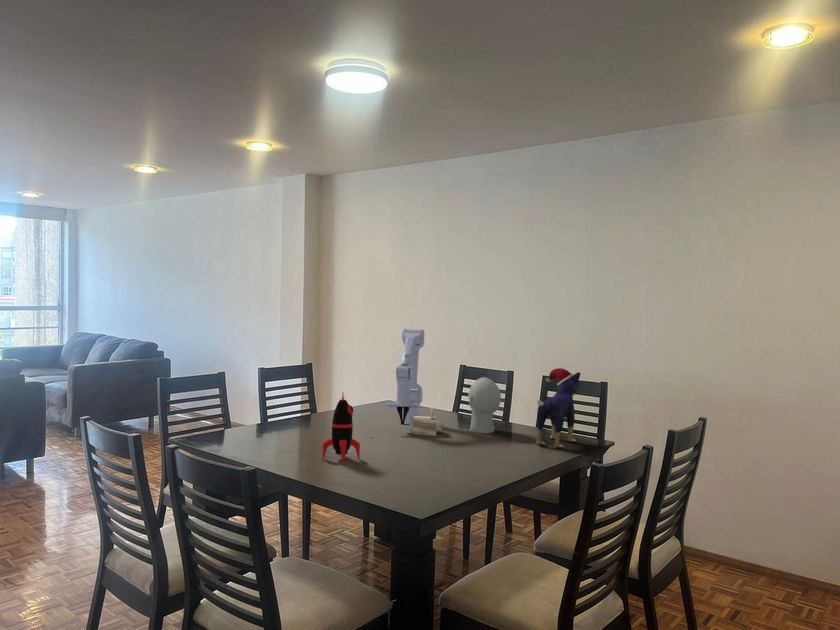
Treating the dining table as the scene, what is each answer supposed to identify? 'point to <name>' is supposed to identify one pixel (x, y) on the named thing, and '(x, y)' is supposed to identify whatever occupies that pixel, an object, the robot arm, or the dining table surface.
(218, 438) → the dining table surface
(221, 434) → the dining table surface
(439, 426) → the silver metal piece
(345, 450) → the toy rocket
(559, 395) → the toy
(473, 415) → the head
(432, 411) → the keeper flap
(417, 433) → the block
